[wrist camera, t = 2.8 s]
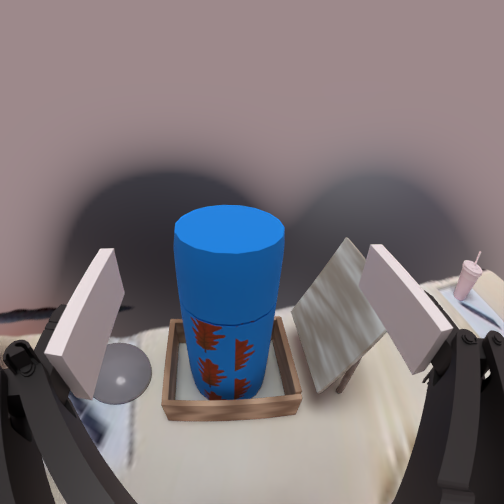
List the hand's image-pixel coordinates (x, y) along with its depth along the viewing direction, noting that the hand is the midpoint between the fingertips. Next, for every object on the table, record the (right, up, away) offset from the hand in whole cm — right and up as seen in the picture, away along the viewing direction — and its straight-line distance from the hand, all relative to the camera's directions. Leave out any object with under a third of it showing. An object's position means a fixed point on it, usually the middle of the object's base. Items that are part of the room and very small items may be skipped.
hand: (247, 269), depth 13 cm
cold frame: (+1, -18, +26) cm, 32 cm away
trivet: (-21, -18, +23) cm, 36 cm away
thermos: (-3, -18, +25) cm, 32 cm away
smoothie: (+56, -11, +44) cm, 72 cm away
